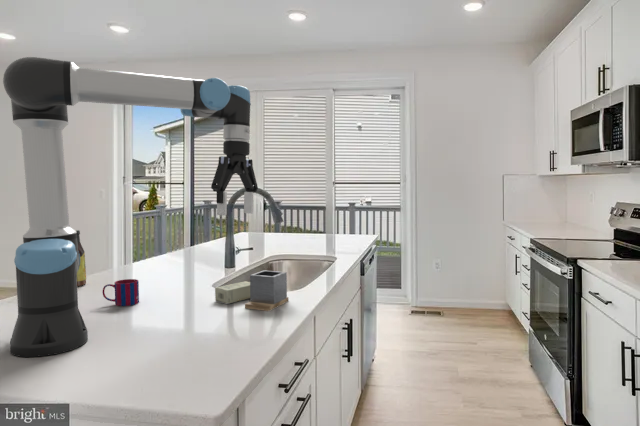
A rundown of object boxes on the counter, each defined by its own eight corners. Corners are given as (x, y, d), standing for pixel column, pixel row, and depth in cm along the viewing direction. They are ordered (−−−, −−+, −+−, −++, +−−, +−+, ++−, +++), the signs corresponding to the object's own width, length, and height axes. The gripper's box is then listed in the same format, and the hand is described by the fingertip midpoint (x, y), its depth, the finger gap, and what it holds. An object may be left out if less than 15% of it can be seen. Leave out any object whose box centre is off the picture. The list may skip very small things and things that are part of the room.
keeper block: (268, 311, 130) (268, 289, 130) (244, 308, 133) (244, 287, 133) (288, 301, 141) (288, 281, 141) (265, 298, 144) (265, 279, 144)
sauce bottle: (90, 284, 166) (87, 229, 164) (72, 288, 160) (70, 231, 159) (79, 282, 169) (77, 229, 168) (62, 285, 164) (60, 230, 162)
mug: (137, 305, 137) (137, 282, 137) (101, 308, 135) (100, 285, 134) (140, 299, 144) (139, 278, 143) (105, 302, 141) (104, 280, 141)
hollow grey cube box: (274, 304, 133) (273, 277, 132) (250, 301, 136) (250, 275, 136) (286, 298, 140) (286, 272, 140) (264, 295, 143) (263, 270, 143)
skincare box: (227, 304, 137) (258, 296, 147) (226, 290, 137) (258, 283, 146) (214, 301, 142) (245, 293, 151) (214, 287, 141) (245, 280, 151)
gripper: (221, 135, 120) (220, 216, 121) (269, 145, 143) (268, 213, 144) (198, 136, 123) (197, 215, 124) (249, 145, 146) (248, 212, 147)
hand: (235, 214), depth 134 cm, fingers open, 13 cm apart
